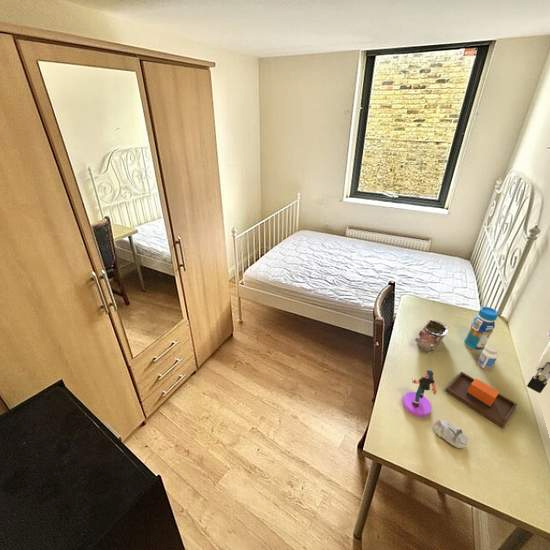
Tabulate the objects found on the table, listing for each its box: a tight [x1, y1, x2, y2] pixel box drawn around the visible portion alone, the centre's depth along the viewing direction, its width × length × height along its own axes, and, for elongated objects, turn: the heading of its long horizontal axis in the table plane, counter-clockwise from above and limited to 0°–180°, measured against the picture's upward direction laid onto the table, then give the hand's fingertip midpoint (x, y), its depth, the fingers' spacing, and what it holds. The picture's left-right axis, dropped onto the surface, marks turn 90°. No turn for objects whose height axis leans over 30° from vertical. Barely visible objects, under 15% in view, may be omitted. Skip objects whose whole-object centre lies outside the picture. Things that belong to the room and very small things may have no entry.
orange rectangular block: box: [466, 378, 500, 408], centre depth 110 cm, size 8×4×6 cm, turn 39°
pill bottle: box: [476, 344, 499, 371], centre depth 124 cm, size 6×5×10 cm
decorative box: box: [414, 318, 450, 352], centre depth 134 cm, size 13×20×10 cm, turn 128°
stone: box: [433, 419, 468, 449], centre depth 98 cm, size 10×7×3 cm
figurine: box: [402, 369, 438, 418], centre depth 104 cm, size 9×9×18 cm
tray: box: [444, 371, 518, 429], centre depth 111 cm, size 20×14×2 cm
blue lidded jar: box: [463, 306, 499, 352], centre depth 133 cm, size 8×8×20 cm
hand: (538, 381), depth 86 cm, fingers open, 9 cm apart
